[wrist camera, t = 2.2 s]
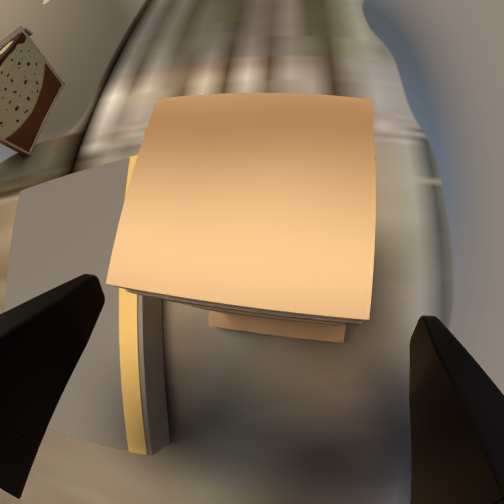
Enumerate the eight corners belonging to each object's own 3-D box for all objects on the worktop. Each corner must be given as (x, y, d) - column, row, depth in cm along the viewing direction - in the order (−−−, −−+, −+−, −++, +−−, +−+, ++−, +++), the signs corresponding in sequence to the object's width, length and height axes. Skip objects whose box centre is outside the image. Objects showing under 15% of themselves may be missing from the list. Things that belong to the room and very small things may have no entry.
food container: (38, 85, 29) (-7, 40, 19) (70, 74, 28) (23, 21, 18) (-3, 172, 26) (-63, 134, 17) (25, 168, 25) (-43, 122, 15)
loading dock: (170, 443, 17) (151, 455, 14) (32, 411, 19) (10, 414, 16) (166, 170, 21) (150, 152, 19) (39, 201, 23) (19, 190, 21)
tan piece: (340, 341, 17) (402, 362, 5) (216, 325, 18) (76, 310, 7) (350, 228, 18) (397, 82, 7) (233, 218, 19) (143, 83, 8)
